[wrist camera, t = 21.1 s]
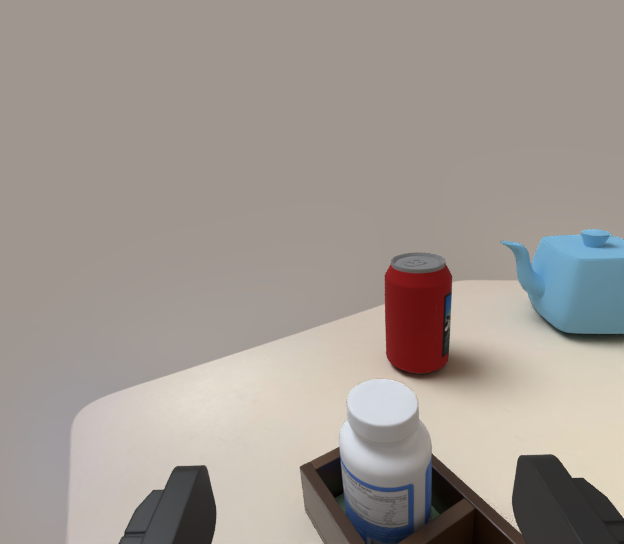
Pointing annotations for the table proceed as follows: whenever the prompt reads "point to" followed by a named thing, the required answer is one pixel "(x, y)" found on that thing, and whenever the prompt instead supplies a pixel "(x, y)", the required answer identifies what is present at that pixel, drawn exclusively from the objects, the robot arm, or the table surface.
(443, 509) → the wooden compartment box
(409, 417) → the pill bottle
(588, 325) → the teapot
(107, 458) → the table surface
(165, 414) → the table surface
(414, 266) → the beverage can
